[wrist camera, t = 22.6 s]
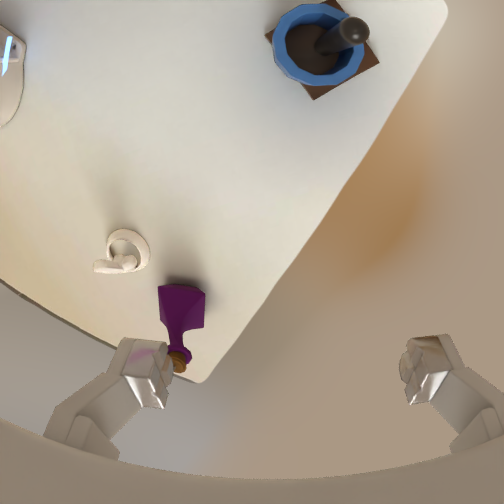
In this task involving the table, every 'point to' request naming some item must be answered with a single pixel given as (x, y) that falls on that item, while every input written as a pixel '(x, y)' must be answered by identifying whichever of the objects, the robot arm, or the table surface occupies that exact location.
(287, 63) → the tape roll
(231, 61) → the table surface
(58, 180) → the table surface
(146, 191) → the table surface
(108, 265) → the hook
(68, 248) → the table surface
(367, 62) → the stand
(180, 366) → the perfume bottle
